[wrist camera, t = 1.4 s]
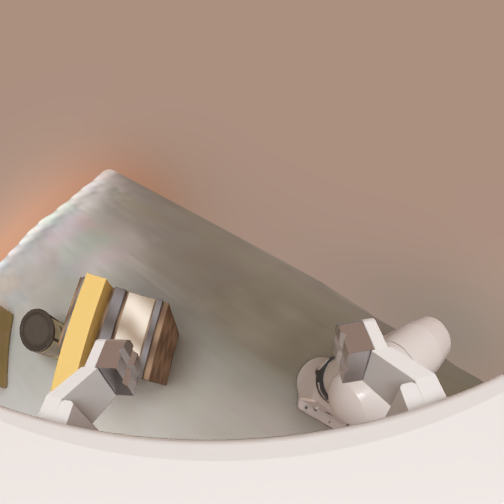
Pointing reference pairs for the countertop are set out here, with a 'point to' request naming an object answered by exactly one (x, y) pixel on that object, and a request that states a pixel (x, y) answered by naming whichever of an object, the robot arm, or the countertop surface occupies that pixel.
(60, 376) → the lever bar
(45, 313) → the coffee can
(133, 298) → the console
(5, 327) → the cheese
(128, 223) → the countertop surface
